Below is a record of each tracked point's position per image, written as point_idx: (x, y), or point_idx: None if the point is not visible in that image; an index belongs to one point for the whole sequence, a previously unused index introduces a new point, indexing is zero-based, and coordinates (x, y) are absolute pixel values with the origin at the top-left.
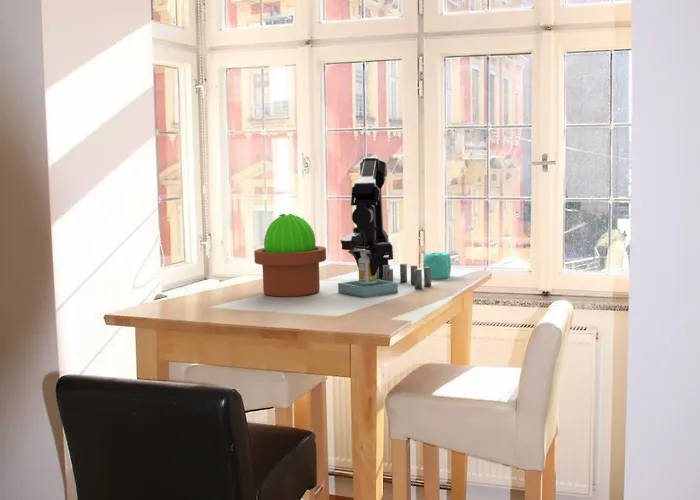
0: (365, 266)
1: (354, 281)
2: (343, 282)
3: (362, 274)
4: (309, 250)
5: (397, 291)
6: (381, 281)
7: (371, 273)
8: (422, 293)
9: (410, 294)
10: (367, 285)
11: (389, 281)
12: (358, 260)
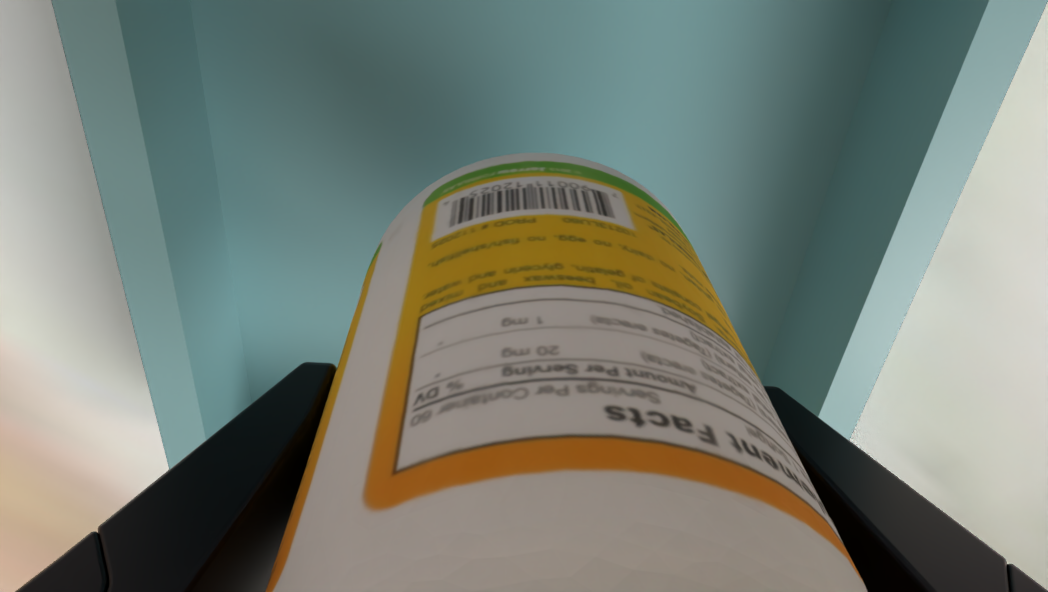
0: (372, 429)
1: (878, 267)
2: (1018, 33)
3: (488, 241)
4: None
5: None
6: None
7: (306, 383)
8: (3, 542)
9: (7, 442)
10: None
11: None
12: (817, 588)
